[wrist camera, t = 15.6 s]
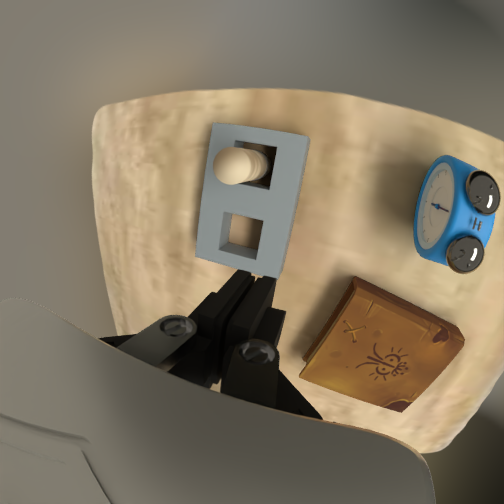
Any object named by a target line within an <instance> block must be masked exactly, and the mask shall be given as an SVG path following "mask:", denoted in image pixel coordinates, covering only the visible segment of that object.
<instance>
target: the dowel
mask: <svg viewBox="0 0 504 504" xmlns="http://www.w3.org/2000/svg"><path fill="white" fill-rule="evenodd" d="M270 169H271V161H270V158H269V157H268V155H266V154H265V153H264V152H261V151H258V150H253V149H243V148H237V147H227V148H224V149H222V150H221V151H219V152H218V153H217V155H216V156H215V158H214V161H213V171H214V174H215V176H216V177H217V178H218V179H219V180H220V181H221V182H223V183H225V184H229V185H233V184H238V183H242V182H247V181H254V180H258V179H260V178H263V177H265V176H266V175H267V174H268V173H269V171H270Z"/></svg>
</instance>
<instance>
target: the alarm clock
mask: <svg viewBox="0 0 504 504" xmlns="http://www.w3.org/2000/svg"><path fill="white" fill-rule="evenodd" d="M500 201H501V194H500V189H499V186H498V184H497V182H496V180H495V179H494V178H493V177H492V176H491V175H490V174H489V173H488V172H486V171H483V170H479V169H477V168H475V167H473V166H471V165H469V164H467V163H465V162H463V161H461V160H459V159H457V158H455V157H452V156H450V155H444V156H441V157H439V158H438V159H437V160H436V161H435V162H434V163H433V164H432V166H431V167H430V169H429V171H428V172H427V175H426V177H425V179H424V181H423V184H422V187H421V190H420V193H419V197H418V201H417V205H416V211H415V217H414V243H415V247H416V250H417V252H418V253H419V255H420V256H421V257H423V258H425V259H428V260H431V261H434V262H437V263H440V264H443V265H446V266H449V267H450V268H451V269H452V270H453V271H454V272H456V273H459V274H468V273H471V272H473V271H475V270H476V269H477V268H478V267H479V266H480V265H481V263H482V261H483V259H484V254H485V249H484V248H485V247H486V244H487V242H488V240H489V238H490V235H491V232H492V228H493V224H494V219H495V212H496V211H497V210H498V208H499V205H500Z"/></svg>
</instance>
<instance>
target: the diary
mask: <svg viewBox="0 0 504 504" xmlns="http://www.w3.org/2000/svg"><path fill="white" fill-rule="evenodd" d="M464 341H465V339H464V337H463V335H462V333H461V332H460V330H459V328H458V327H456V326H454V325H453V324H451V323H449V322H447V321H445V320H443V319H441V318H439V317H437V316H435V315H433V314H431V313H429V312H427V311H425V310H423V309H421V308H419V307H417V306H415V305H413V304H411V303H409V302H407V301H405V300H403V299H401V298H399V297H397V296H395V295H393V294H391V293H389V292H387V291H385V290H383V289H381V288H379V287H377V286H375V285H373V284H371V283H369V282H367V281H365V280H362V279H360V278H358V277H356V276H355V277H354V278H353V280H352V282H351V284H350V285H349V287H348V289H347V290H346V292H345V294H344V295H343V297H342V299H341V301H340V302H339V304H338V305H337V307H336V309H335V310H334V312H333V314H332V315H331V317H330V318H329V320H328V322H327V323H326V325H325V326H324V328H323V329H322V331H321V332H320V334H319V336H318V337H317V339H316V340H315V342H314V343H313V345H312V346H311V347H310V349H309V350H308V352H307V353H306V355H305V356H304V358H303V361H305V362H307V364H306V366H305V367H304V369H303V370H302V371H301V373H300V374H299V378H302V379H304V380H307V381H309V382H312V383H314V384H317V385H319V386H322V387H325V388H327V389H330V390H333V391H335V392H338V393H341V394H344V395H347V396H350V397H352V398H355V399H358V400H361V401H364V402H368V403H371V404H374V405H377V406H380V407H384V408H387V409H390V410H394V411H397V412H401V413H402V412H403V411H404V410H405V409H406V408H407V407H408V406H409V405H410V404H411V403H412V402H413V401H415V400H416V399H417V398H418V397H419V396H420V395H421V394H422V393H423V392H424V391H425V390H426V389H427V388H428V387H429V386H430V384H431V383H432V382H433V381H434V380H435V379H436V378H437V377H438V376H439V375H440V374H441V373H442V371H443V370H444V369H445V368H446V367H447V366H448V365H449V363H450V362H451V361H452V360H453V359H454V357H455V356H456V355H457V354H458V353H459V351H460V350H461V349H462V348H463V346H464Z"/></svg>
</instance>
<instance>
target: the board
mask: <svg viewBox="0 0 504 504" xmlns="http://www.w3.org/2000/svg"><path fill="white" fill-rule="evenodd" d="M244 142H247V143H253V144H259V145H265V146H271V147H277V152H276V157H275V163H274V168H273V174H272V179H271V184H270V186H266V185H261V184H256V183H251V182H242V183H238V184H233V185H229V184H225V183H223V182H221V181H220V180H219V179H218V178H217V177H216V176H215V174H214V171H213V161H214V158H215V156H216V155H217V153H218V152H219V151H221V150H222V149H224V148H227V147H237V148H243V146H244ZM309 144H310V138H309V137H308V136H303V135H298V134H292V133H287V132H281V131H275V130H269V129H263V128H256V127H248V126H241V125H232V124H223V123H213V126H212V131H211V137H210V144H209V150H208V156H207V163H206V170H205V177H204V184H203V192H202V199H201V207H200V216H199V224H198V233H197V243H196V253H195V257H198V258H202V259H205V260H208V261H212V262H215V263H219V264H222V265H226V266H229V267H233V268H236V269H240V270H244V271H248V272H251V273H254V274H257V275H261V276H264V275H265V276H269V277H273V278H277V280H278V279H279V277H280V274H281V272H282V270H283V266H284V262H285V258H286V254H287V249H288V245H289V240H290V236H291V232H292V227H293V222H294V218H295V213H296V209H297V204H298V199H299V194H300V190H301V185H302V180H303V175H304V170H305V165H306V160H307V155H308V150H309ZM232 213H233V214H237V215H242V216H246V217H250V218H254V219H259V220H263V221H264V222H263V227H262V232H261V237H260V243H259V248H258V250H256V249H252V248H248V247H244V246H240V245H237V244H233V243H229V242H228V239H229V232H230V226H231V219H232Z"/></svg>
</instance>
